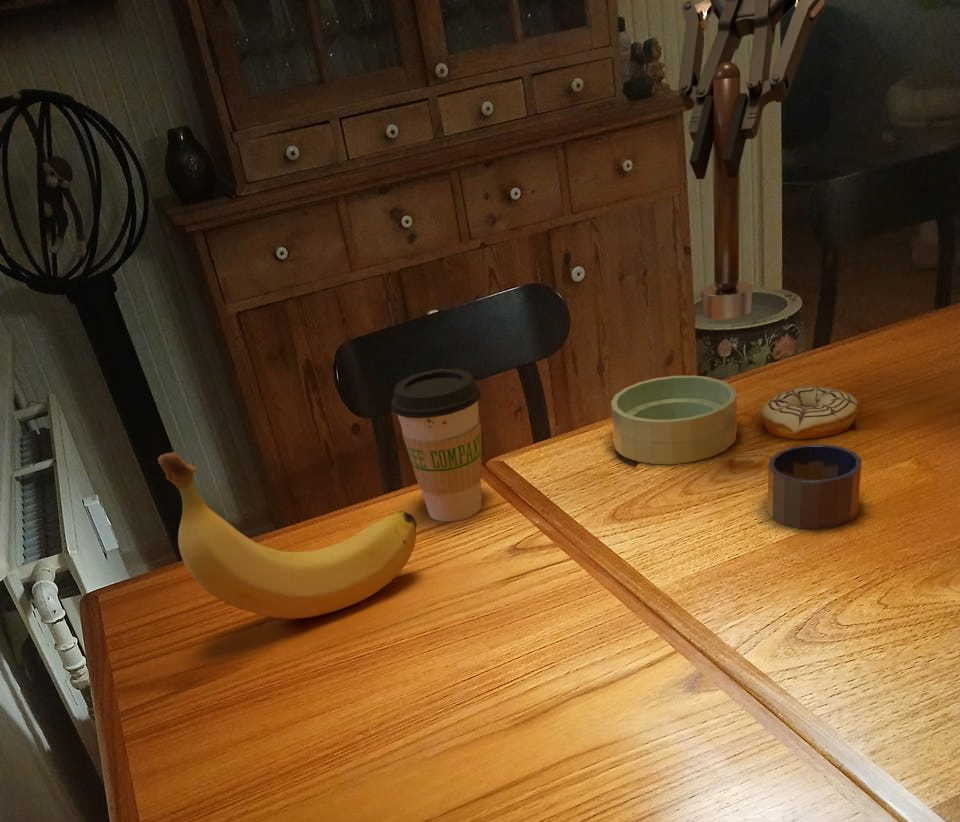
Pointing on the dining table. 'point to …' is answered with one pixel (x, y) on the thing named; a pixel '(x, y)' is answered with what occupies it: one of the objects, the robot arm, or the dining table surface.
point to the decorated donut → (809, 412)
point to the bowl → (674, 419)
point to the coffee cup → (443, 439)
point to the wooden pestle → (725, 209)
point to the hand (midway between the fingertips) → (713, 168)
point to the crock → (814, 486)
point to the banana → (284, 559)
